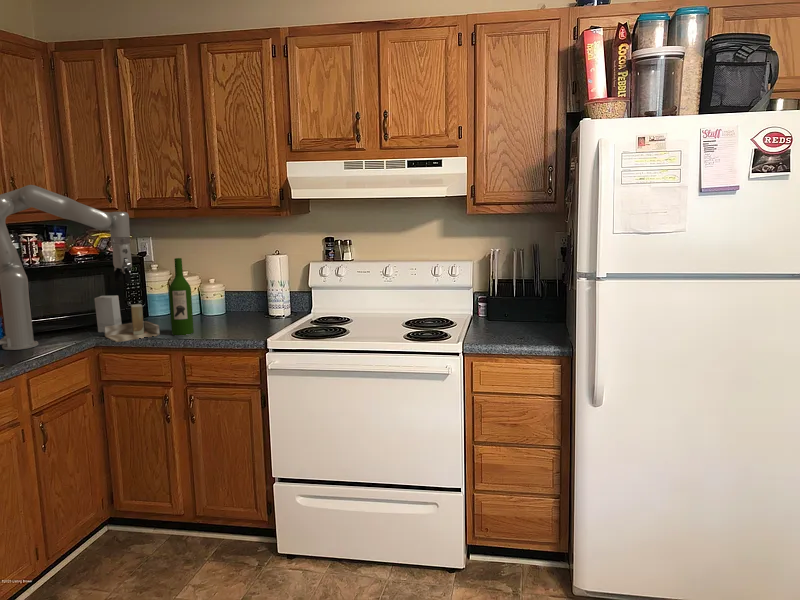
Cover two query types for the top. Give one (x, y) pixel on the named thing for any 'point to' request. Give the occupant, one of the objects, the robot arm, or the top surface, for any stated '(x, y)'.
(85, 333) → the top surface
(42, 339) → the top surface
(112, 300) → the skincare box
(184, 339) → the top surface
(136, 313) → the skincare box
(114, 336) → the tray
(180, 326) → the wine bottle
